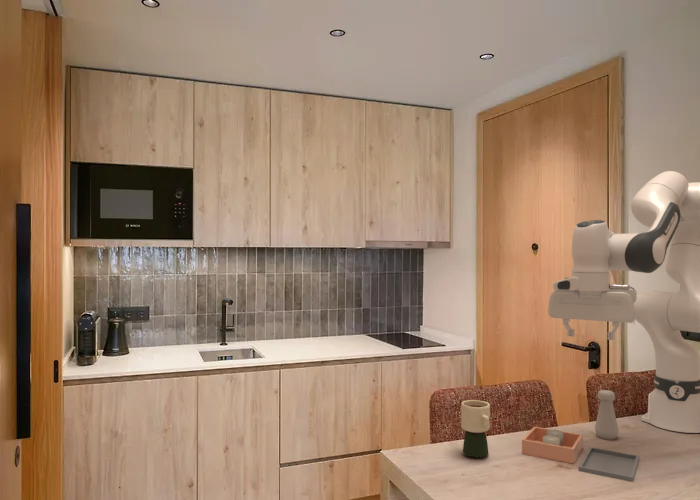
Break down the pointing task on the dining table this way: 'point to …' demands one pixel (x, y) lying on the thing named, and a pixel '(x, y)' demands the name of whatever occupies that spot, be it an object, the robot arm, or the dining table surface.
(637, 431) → the dining table surface
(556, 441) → the pebble
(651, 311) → the robot arm
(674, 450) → the dining table surface
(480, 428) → the character mug
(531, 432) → the open box
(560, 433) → the pebble
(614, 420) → the salt shaker
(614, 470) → the tray
